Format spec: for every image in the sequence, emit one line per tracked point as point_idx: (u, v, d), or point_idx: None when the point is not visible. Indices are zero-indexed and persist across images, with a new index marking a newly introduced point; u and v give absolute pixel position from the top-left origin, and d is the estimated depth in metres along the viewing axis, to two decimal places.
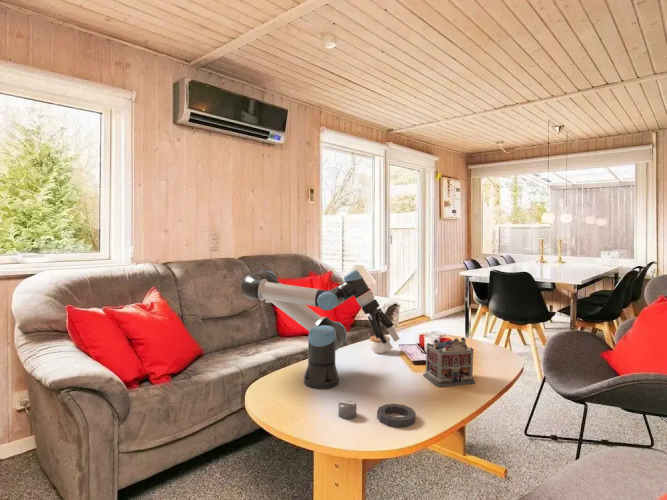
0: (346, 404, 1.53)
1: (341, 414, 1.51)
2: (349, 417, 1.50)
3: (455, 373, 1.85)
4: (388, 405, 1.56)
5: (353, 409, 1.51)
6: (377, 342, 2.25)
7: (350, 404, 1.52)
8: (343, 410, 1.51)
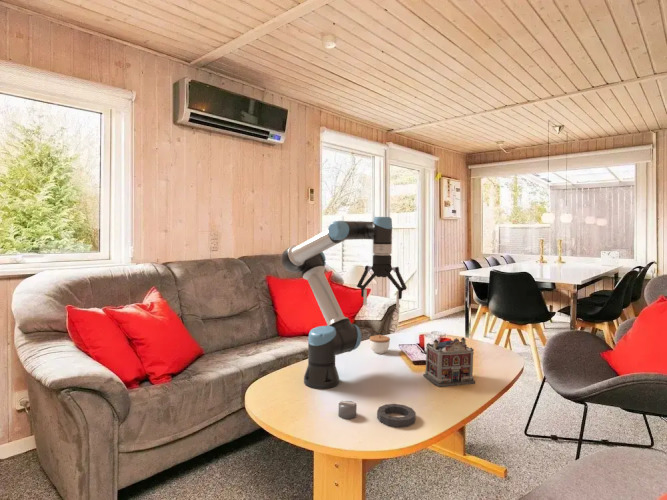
0: (346, 404, 1.53)
1: (341, 414, 1.51)
2: (349, 417, 1.50)
3: (455, 373, 1.85)
4: (388, 405, 1.56)
5: (353, 409, 1.51)
6: (377, 342, 2.25)
7: (350, 404, 1.52)
8: (343, 410, 1.51)
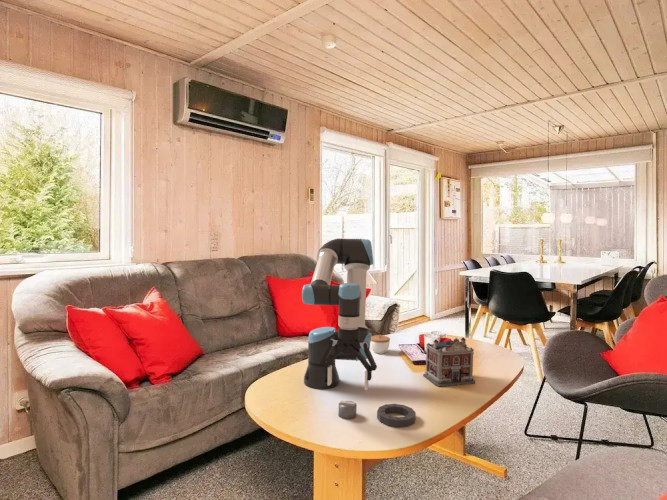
0: (346, 404, 1.53)
1: (341, 414, 1.51)
2: (349, 417, 1.50)
3: (455, 373, 1.85)
4: (388, 405, 1.56)
5: (353, 409, 1.51)
6: (377, 342, 2.25)
7: (350, 404, 1.52)
8: (343, 410, 1.51)
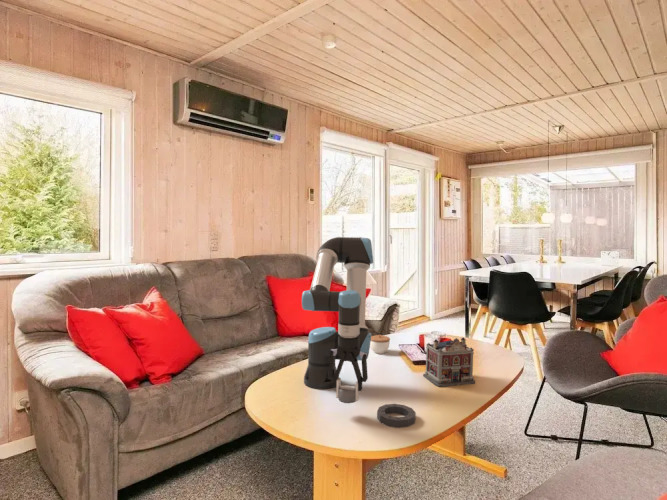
0: (346, 388, 1.53)
1: (341, 398, 1.51)
2: (349, 401, 1.51)
3: (455, 373, 1.85)
4: (388, 405, 1.56)
5: (353, 393, 1.51)
6: (377, 342, 2.25)
7: (350, 388, 1.52)
8: (343, 394, 1.51)
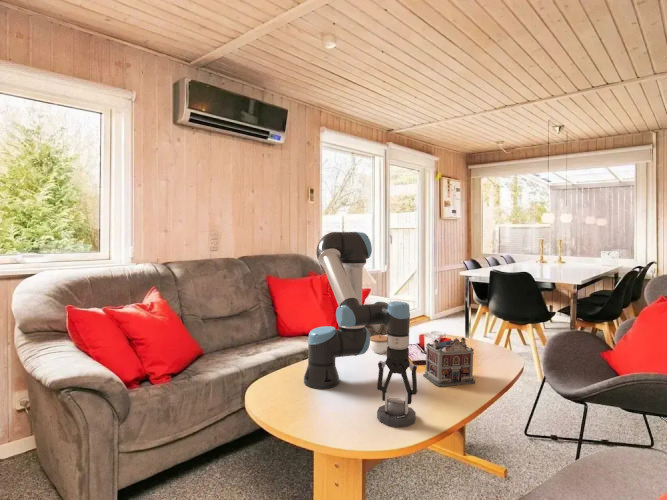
0: (395, 401, 1.50)
1: (391, 412, 1.48)
2: (399, 414, 1.48)
3: (455, 373, 1.85)
4: None
5: (403, 406, 1.48)
6: (377, 342, 2.25)
7: (399, 401, 1.50)
8: (393, 407, 1.48)
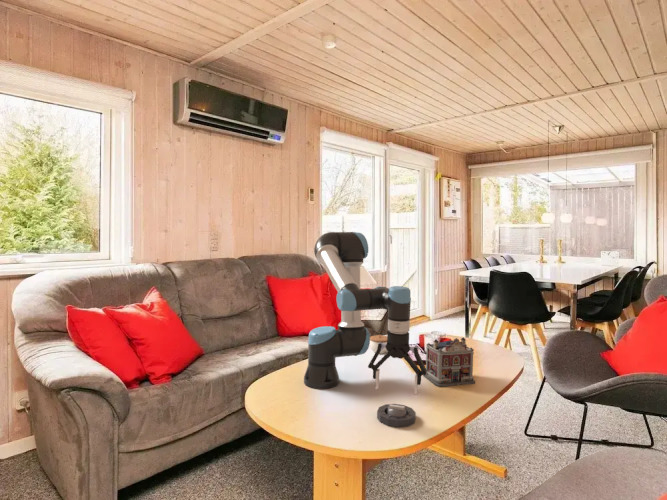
0: (396, 408, 1.50)
1: None
2: None
3: (455, 373, 1.85)
4: (388, 405, 1.56)
5: (403, 413, 1.48)
6: (377, 342, 2.25)
7: (400, 408, 1.50)
8: (393, 414, 1.48)
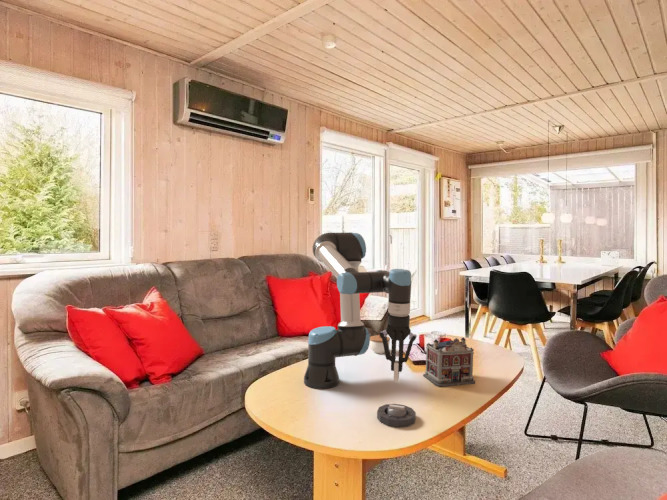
0: (396, 408, 1.50)
1: None
2: None
3: (455, 373, 1.85)
4: (388, 405, 1.56)
5: (403, 413, 1.48)
6: (377, 342, 2.25)
7: (400, 408, 1.50)
8: (393, 414, 1.48)
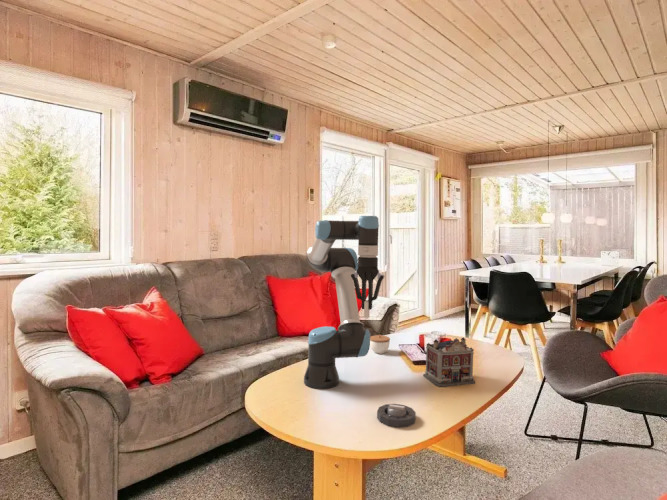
0: (396, 408, 1.50)
1: None
2: None
3: (455, 373, 1.85)
4: (388, 405, 1.56)
5: (403, 413, 1.48)
6: (377, 342, 2.25)
7: (400, 408, 1.50)
8: (393, 414, 1.48)
